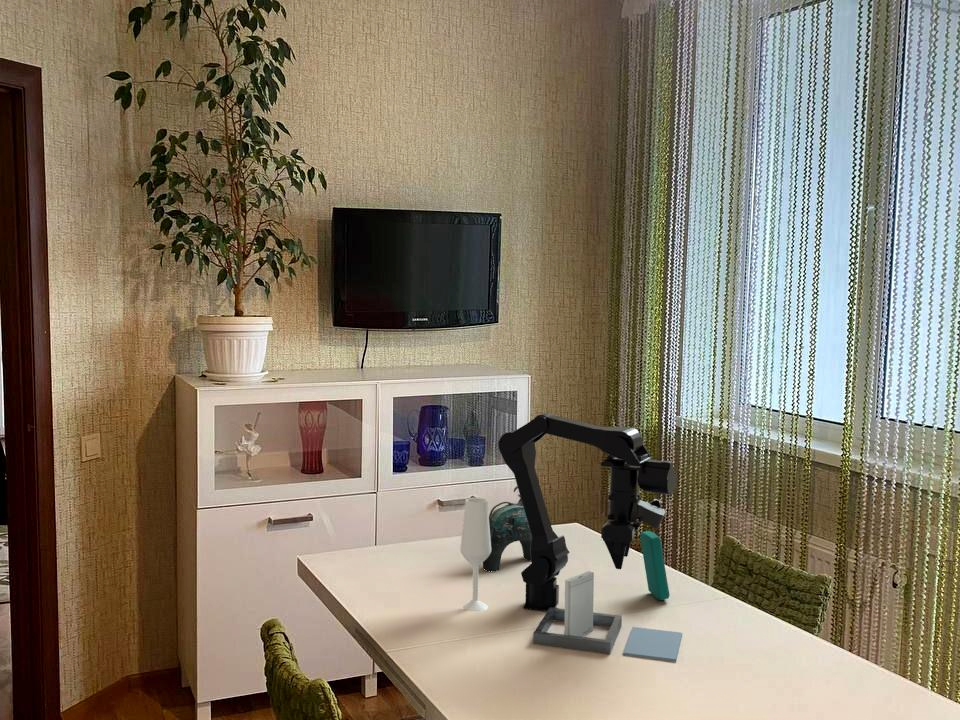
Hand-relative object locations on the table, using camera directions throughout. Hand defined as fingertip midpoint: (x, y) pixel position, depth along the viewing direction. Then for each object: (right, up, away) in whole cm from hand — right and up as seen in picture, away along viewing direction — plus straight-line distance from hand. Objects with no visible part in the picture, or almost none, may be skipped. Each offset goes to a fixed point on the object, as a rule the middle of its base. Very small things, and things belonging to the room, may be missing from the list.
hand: (621, 562), depth 197 cm
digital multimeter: (+10, -12, +17) cm, 23 cm away
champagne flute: (-31, -12, +9) cm, 34 cm away
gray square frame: (-10, -14, -6) cm, 18 cm away
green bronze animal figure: (-21, -9, +40) cm, 46 cm away
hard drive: (-10, -14, -6) cm, 18 cm away
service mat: (+5, -14, -11) cm, 18 cm away
